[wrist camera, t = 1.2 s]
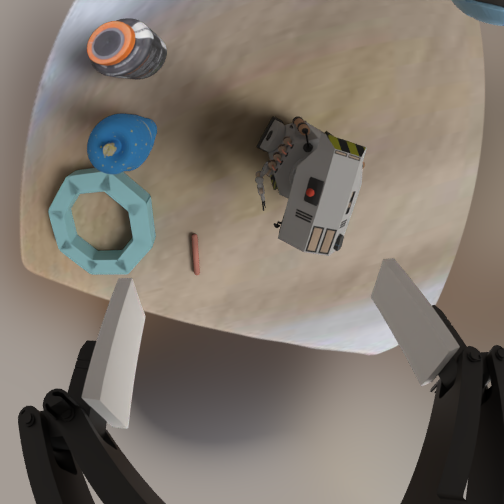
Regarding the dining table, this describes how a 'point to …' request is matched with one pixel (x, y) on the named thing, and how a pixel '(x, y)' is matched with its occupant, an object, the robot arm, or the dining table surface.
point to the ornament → (121, 143)
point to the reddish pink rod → (195, 254)
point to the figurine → (311, 183)
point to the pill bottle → (126, 49)
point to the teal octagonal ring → (123, 194)
